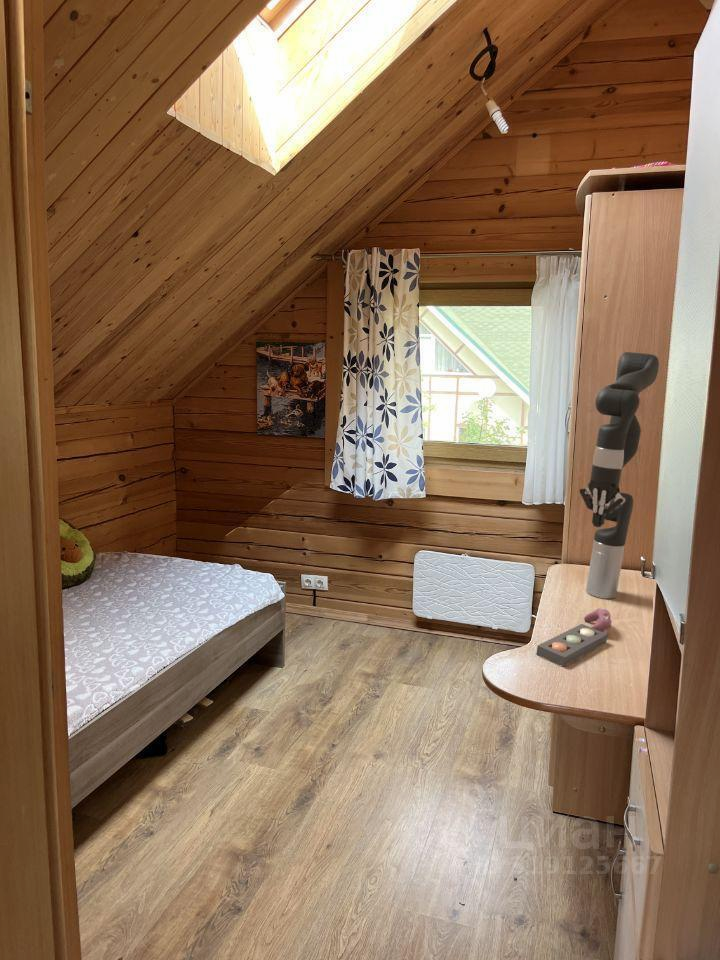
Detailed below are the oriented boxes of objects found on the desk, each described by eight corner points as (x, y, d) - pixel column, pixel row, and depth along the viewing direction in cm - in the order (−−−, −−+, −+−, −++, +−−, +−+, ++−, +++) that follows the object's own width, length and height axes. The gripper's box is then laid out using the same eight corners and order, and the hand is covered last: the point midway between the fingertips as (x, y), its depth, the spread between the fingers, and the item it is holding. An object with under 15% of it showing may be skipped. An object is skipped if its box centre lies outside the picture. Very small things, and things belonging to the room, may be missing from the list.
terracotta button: (555, 649, 175) (557, 640, 175) (568, 654, 173) (569, 646, 172) (548, 653, 173) (549, 644, 172) (560, 658, 171) (562, 650, 170)
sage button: (569, 642, 180) (571, 633, 180) (582, 647, 178) (583, 639, 177) (562, 645, 178) (564, 637, 177) (575, 651, 175) (576, 642, 175)
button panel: (580, 632, 188) (581, 623, 187) (606, 642, 183) (607, 634, 182) (536, 654, 173) (537, 645, 172) (563, 666, 168) (564, 657, 167)
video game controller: (601, 642, 186) (617, 622, 184) (587, 633, 186) (602, 613, 185) (595, 627, 196) (610, 608, 194) (582, 618, 196) (596, 599, 194)
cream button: (583, 635, 185) (584, 627, 184) (595, 640, 182) (597, 632, 182) (576, 638, 183) (577, 630, 182) (588, 643, 180) (590, 635, 179)
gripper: (577, 460, 184) (568, 522, 188) (624, 470, 175) (613, 535, 179) (591, 458, 190) (582, 518, 193) (637, 468, 180) (627, 530, 184)
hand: (597, 526), depth 186 cm, fingers closed
